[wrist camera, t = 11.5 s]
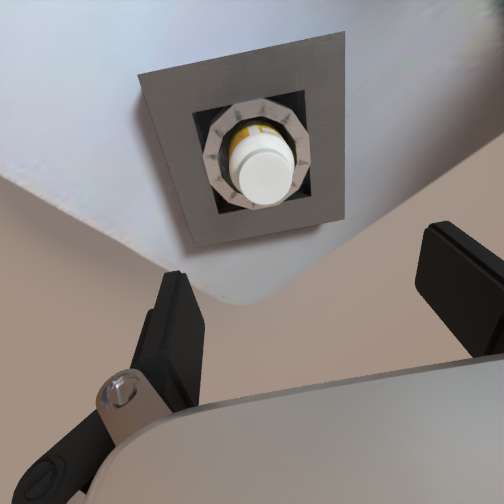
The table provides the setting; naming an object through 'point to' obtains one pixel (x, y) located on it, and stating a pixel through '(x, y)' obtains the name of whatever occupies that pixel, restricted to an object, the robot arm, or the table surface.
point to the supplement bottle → (260, 162)
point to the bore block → (248, 106)
